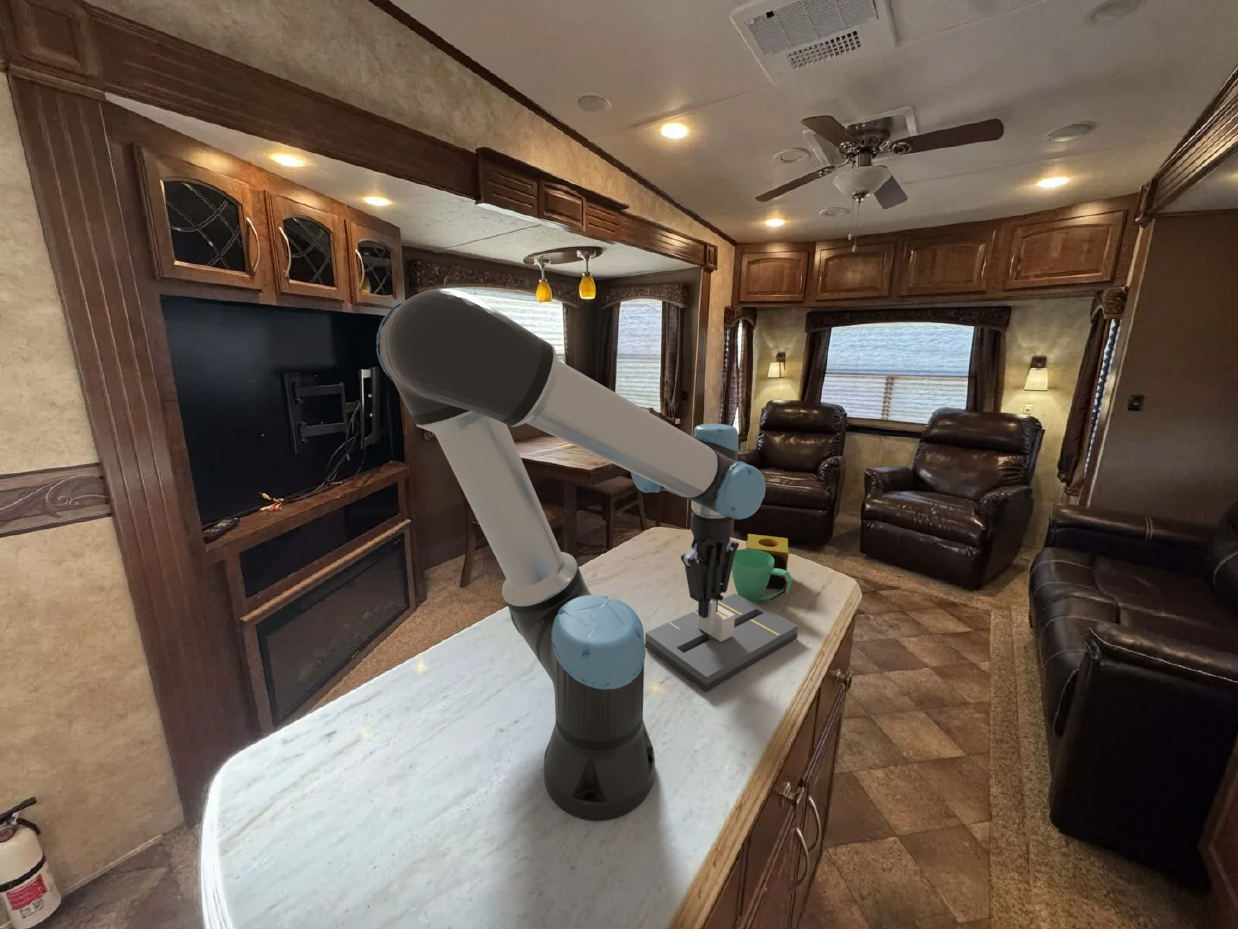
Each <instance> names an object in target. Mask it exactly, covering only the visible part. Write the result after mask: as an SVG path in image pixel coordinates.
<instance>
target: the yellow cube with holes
mask: <svg viewBox="0 0 1238 929" xmlns="http://www.w3.org/2000/svg"><path fill="white" fill-rule="evenodd" d="M745 549H753V550H759V551H763V552H765V553H768V554H769V555H771V556H772V557H773V558H774V567H773V568H777V569H782V570H785V571H788V563H789V562H788V561H789V552H790V551H789V550H790V549H789V539H788V538H787V537H781V536H780V537H779V536H771V535H759V534H752V533H748V534H747V541H746V542H745ZM784 587H785V580H784V578H783V577H781V576H778V575H770V579H769V582H768V584H767V587H766V589H768V590H769V589H770V590H775V589H777V591H781V590H783V589H784ZM766 589H765V590H766Z"/></svg>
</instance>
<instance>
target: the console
mask: <svg viewBox="0 0 1238 929" xmlns="http://www.w3.org/2000/svg"><path fill="white" fill-rule="evenodd" d="M718 605H719V606H721V607H723V608H724V609H726V610H728V611H730V612H732V613H733V614H735V622H734V636H732V637H730V638H728V639H726V640H724V641H722V642H720V641H718V640H717V639H715V638H713V639H711V640H709V639H708V634H707V633H706V632H704V631H703V630H701V629H699V628H698V609H696V610H694V611H692V612H689V613H687V614H685V615H682V616H680V617H678V618H675V619H674V620H671V621H669V622H666V623H664V624H662V625H660V626H658V627H655V628H653V629H650V630H649V631H646V632H644V633H645V634H644V640H645V648H647V649H648V650H649V651H651V652H652V653H653V654H655V655H656V656H657V657H659V658H660V659H661V660H663V661H664V662H666V663H667V664H668V665H669V666H670V667H672V668H673V669H674V670H675V671H677V672H678V673H679V674H681V675H682V676H683V677H685V678H686V679H688V681H689V682H691V683H693V684H694V685H695V686H696V687H697V688H700V689H701V690H702V691H703V692H704V693H707V692H709V691H711V690H712V689H714V688H716V687H718V686H719V685H721V684H723V683H724V682H727V681H728V680H730V679H731V678H733V677H735V676H737V675H738V674H741V673H742V672H744V671H745V670H747V669H748V668H750V667H752V666H753V665H755V664H757V663H759V662H761V661H762V660H764V659H766V658H767V657H769V656H771V655H772V654H774V653H776V652H778V651H779V650H781V649H782V648H785V646H788V645H790V644H791V643H793V642H794V641H797V639H798V631H799V625H797V624H795V623H794V622H792V621H790V620H787V619H786V618H784V617H782V616H780V615H778V614H776V613H774V612H773V611H770V610H768V609H766V608H765V607H762V606H761V605H758V604H757V603H756V602H754V603H753V602H751V601H749V600H747V599H745V598H743V597H741V596H739V595H738V594H737V593H733V594H730V595H728V596H726V597H723V599H722V600H721V601H720V600H718Z"/></svg>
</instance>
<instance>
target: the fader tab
mask: <svg viewBox="0 0 1238 929" xmlns="http://www.w3.org/2000/svg"><path fill="white" fill-rule="evenodd" d="M699 618H700V616H699V615H698V628H699ZM734 622H735V614H733V613H732V612H730V611H728V610H726V609H724V608H723V607H721V606H719V605H718V610H717V613H716V623H715V632H714V633H712V634H710V635H709V634H708V633H707V634H708V639H709V640H711V639H713V638H715V639H717V640H718V641H720V642H722V641H724V640H726V639H728V638H730V637H732V636H734ZM699 629H700V628H699ZM701 630H702V629H701ZM704 632H705V631H704Z"/></svg>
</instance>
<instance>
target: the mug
mask: <svg viewBox="0 0 1238 929" xmlns="http://www.w3.org/2000/svg"><path fill="white" fill-rule="evenodd" d="M773 567H774V558H773V557H772V556H771V555H769V554H768V553H765V552H763V551H759V550H753V549H746V548H742V549H741V548H740V549H737V551H736V553H735V556H734V560H733V565H732V569H731V575H732V579H733V580H732V581H733V585H734V587H735V591H736V594H737V595H739V596H741V597H743V598H745V599H747V600H749V601H751V602H753V603H758V602H759V601H761V602H764V601H765V602H768V601H771V602H773V601H775V600H777V599H780V598H781V597H783V596H785V595H786V594H789V593H790V589H791V586H792V583H793V577H792V575H791V573H790V572H789V571H788V570H787V571H785V570H782V569H777V568H773ZM770 575H778V576H781V577H783V578H784V580H785V587H784V589H783V590H779V591H778V592H777V593H775V594H764V593H765V591H766V587H767V584H768V582H769V579H770Z"/></svg>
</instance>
